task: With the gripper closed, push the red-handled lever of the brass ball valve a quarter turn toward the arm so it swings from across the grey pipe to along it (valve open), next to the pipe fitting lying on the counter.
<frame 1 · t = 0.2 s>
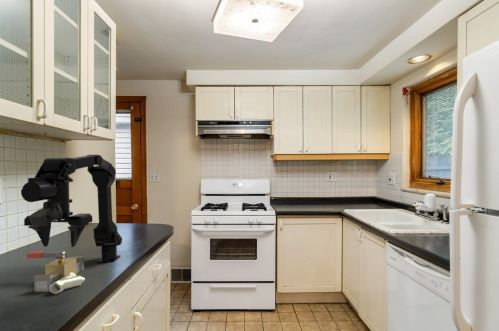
hand: (59, 246, 84), 14 cm above the counter, tool pointing down, fingers open, 9 cm apart
pipe fitting: (69, 289, 87), on the counter
valve: (61, 279, 93), on the counter
lever: (47, 254, 93), point 9 cm above the counter, hinge at 0.0°
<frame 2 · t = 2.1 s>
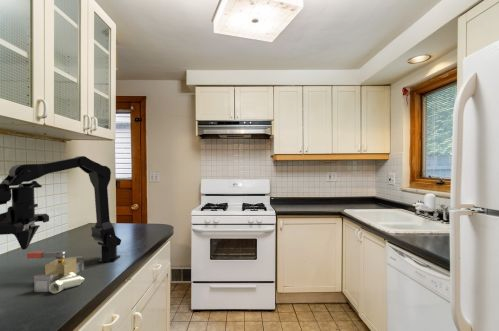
hand: (24, 249, 88), 13 cm above the counter, tool pointing down, fingers closed
nothing on the counter moved.
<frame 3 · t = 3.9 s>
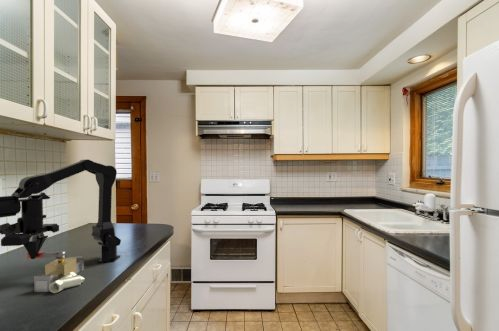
hand: (33, 258, 91), 8 cm above the counter, tool pointing down, fingers closed
lever: (47, 254, 93), point 9 cm above the counter, hinge at -0.1°, touching gripper
everything else where it was.
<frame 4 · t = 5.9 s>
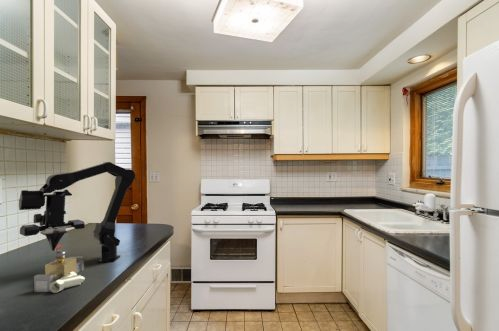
hand: (52, 250, 98), 9 cm above the counter, tool pointing down, fingers closed
lever: (59, 251, 97), point 9 cm above the counter, hinge at -51.2°, touching gripper
everything else where it was.
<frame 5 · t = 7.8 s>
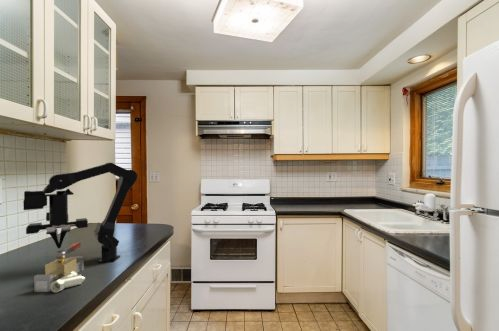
hand: (59, 248, 101), 9 cm above the counter, tool pointing down, fingers closed
lever: (68, 250, 98), point 9 cm above the counter, hinge at -84.6°
everything else where it was.
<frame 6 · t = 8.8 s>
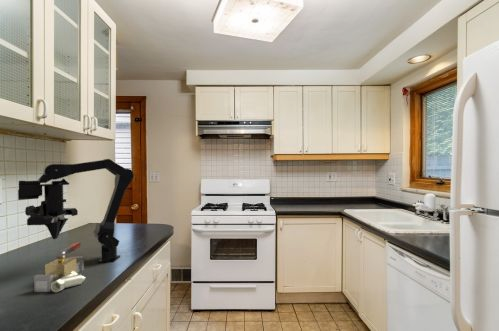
hand: (54, 238, 100), 12 cm above the counter, tool pointing down, fingers closed
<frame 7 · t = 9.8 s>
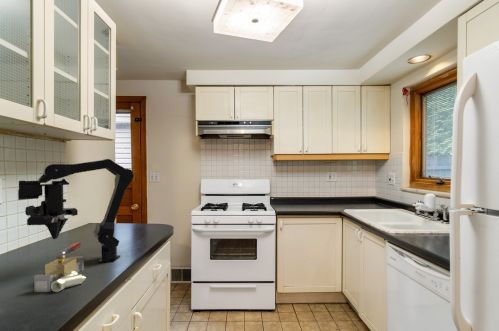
hand: (54, 238, 100), 13 cm above the counter, tool pointing down, fingers closed
at the end: lever at -85° (first picture: +0°) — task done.
